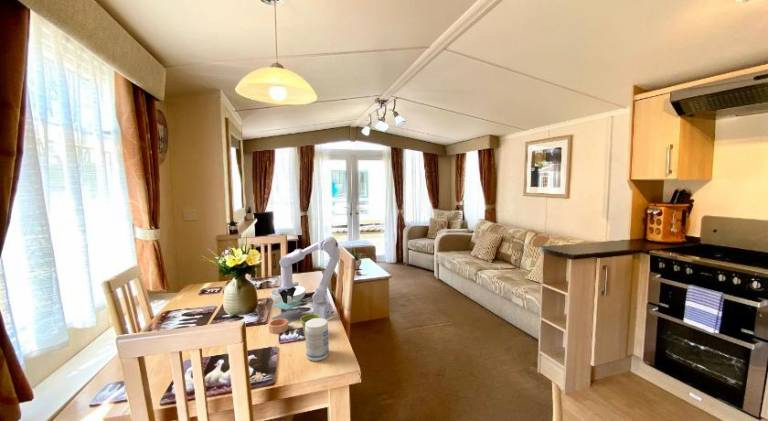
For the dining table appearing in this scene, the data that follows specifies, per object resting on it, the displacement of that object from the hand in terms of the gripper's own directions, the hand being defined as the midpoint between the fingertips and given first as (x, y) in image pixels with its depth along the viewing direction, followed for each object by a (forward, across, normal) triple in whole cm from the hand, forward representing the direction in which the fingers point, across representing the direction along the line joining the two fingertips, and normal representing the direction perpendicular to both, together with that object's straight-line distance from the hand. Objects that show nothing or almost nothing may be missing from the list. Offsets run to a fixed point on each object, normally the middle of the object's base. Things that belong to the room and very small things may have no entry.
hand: (287, 302), depth 174 cm
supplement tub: (+9, +21, +40) cm, 46 cm away
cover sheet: (+1, 0, 0) cm, 1 cm away
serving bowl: (+9, -17, -18) cm, 26 cm away
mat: (+9, 0, 0) cm, 9 cm away
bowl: (+9, +13, +7) cm, 17 cm away
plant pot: (+9, +9, +25) cm, 28 cm away
